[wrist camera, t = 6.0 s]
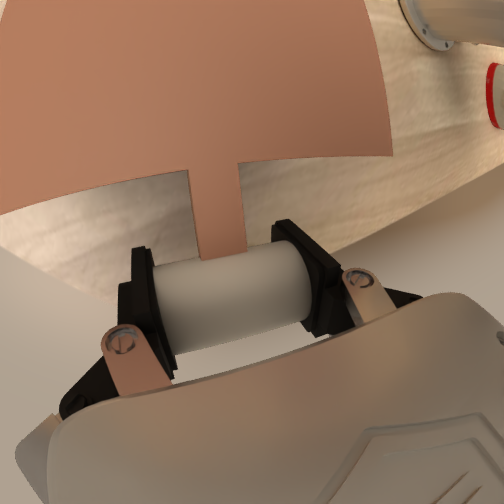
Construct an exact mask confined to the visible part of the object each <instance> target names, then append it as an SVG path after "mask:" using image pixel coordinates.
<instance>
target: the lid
mask: <svg viewBox="0 0 504 504" xmlns="http://www.w3.org/2000/svg"><path fill="white" fill-rule="evenodd" d="M338 156H393V149H392V138H391V128H390V119H389V112H388V104H387V98H386V91H385V85H384V80H383V74H382V69H381V64H380V59H379V55H378V50H377V46H376V42H375V38H374V34H373V30H372V27H371V23H370V19H369V16H368V13H367V9H366V6H365V3H364V0H7V2H6V5H5V8H4V12H3V15H2V18H1V22H0V215H2V214H5V213H8V212H11V211H14V210H17V209H20V208H23V207H26V206H30V205H33V204H36V203H39V202H43V201H46V200H50V199H53V198H57V197H60V196H64V195H68V194H72V193H75V192H79V191H83V190H87V189H91V188H96V187H100V186H104V185H109V184H113V183H118V182H123V181H127V180H132V179H137V178H143V177H148V176H153V175H159V174H165V173H171V172H177V171H183V170H187V176H188V184H189V192H190V199H191V206H192V213H193V220H194V227H195V233H196V239H197V246H198V252H199V257H198V258H193V259H188V260H183V261H178V262H173V263H169V264H164V265H159V266H154V267H153V278H154V285H155V290H156V296H157V300H158V305H159V309H160V314H161V318H162V322H163V325H164V329H165V332H166V336H167V339H168V342H169V345H170V348H171V351H172V353H173V355H178V354H182V353H186V352H191V351H195V350H199V349H203V348H207V347H212V346H215V345H219V344H223V343H227V342H231V341H234V340H238V339H242V338H246V337H249V336H253V335H256V334H259V333H263V332H267V331H270V330H273V329H277V328H280V327H283V326H286V325H289V324H292V323H296V322H299V321H302V320H305V319H306V318H307V317H308V315H309V313H310V310H311V304H312V291H311V284H310V278H309V275H308V271H307V268H306V265H305V263H304V261H303V259H302V256H301V255H300V253H299V251H298V250H297V249H296V247H295V246H294V245H293V244H292V243H291V242H289V241H287V240H282V241H277V242H272V243H267V244H262V245H257V246H252V247H247V242H246V233H245V224H244V215H243V206H242V197H241V189H240V180H239V171H238V163H245V162H255V161H266V160H279V159H293V158H311V157H338Z"/></svg>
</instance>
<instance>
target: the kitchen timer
mask: <svg viewBox="0 0 504 504" xmlns="http://www.w3.org/2000/svg"><path fill="white" fill-rule="evenodd" d="M486 101H487V108H488V114H489V117H490V120H491V122H492V124H493V125H494V126H495V127H497V128H500V129H503V130H504V65H502V64H498V63H492V64H490V66H489V68H488V72H487V77H486Z"/></svg>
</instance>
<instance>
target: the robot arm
mask: <svg viewBox="0 0 504 504" xmlns="http://www.w3.org/2000/svg"><path fill="white" fill-rule="evenodd" d="M399 1H400V4H401V7H402V10H403V12H404V14H405V17H406V19H407V21H408V22H409V24H410V26H411V28H412V29H413V30H414V32H415V33H416V35H417V36H418V37H419V38H420V39H421V41H423V42H424V43H425V44H426V45H427V46H428V47H430V48H431V49H434V50H438V51H447V50H449V49H450V48H451V47H452V46H453V44H454V42H455V41H460V42H470V43H472V44H473V45H478V44H486V45H492V46H498V47H504V0H399ZM282 240H287V241H289V242H291V243H292V244H293V245H294V246H295V247H296V249H297V250H298V251H299V253H300V255H301V256H302V259H303V261H304V263H305V265H306V268H307V271H308V275H309V278H310V284H311V291H312V304H311V310H310V313H309V315H308V317H307V318H306V319H305V320H302V321H300V322H301V324H302V325H303V327H304V328H305V329H306V331H307V332H311V333H312V334H313V335H314V337H315V338H317V337H320V336H322V335H325V334H329V338H326V339H324V340H321V341H318V342H316V343H313V344H310V345H307V346H305V347H302V348H299V349H296V350H293V351H290V352H288V353H284V354H281V355H278V356H275V357H272V358H269V359H266V360H263V361H260V362H257V363H253V364H250V365H246V366H243V367H240V368H236V369H233V370H229V371H226V372H222V373H219V374H214V375H211V376H207V377H203V378H199V379H195V380H191V381H186V382H182V383H178V384H174V385H173V384H172V383H171V380H172V379H174V374H173V370H177V369H178V368H177V363H176V359H175V355H173V353H172V351H171V348H170V345H169V342H168V339H167V336H166V332H165V329H164V325H163V322H162V318H161V314H160V309H159V305H158V300H157V296H156V290H155V285H154V278H153V267H154V266H155V265H154V261H153V257H152V252H151V249H150V248H149V249H146V248H145V246H141V247H137V248H132V254H131V281H129V282H125V283H120V284H119V287H118V322H117V323H118V324H117V326H115V327H113V328H111V329H110V330H109V331H108V332H106V333H105V335H104V336H103V338H102V341H101V349H102V352H103V356H102V357H101V358H100V359H99V360H98V361H97V362H96V363H95V364H94V365H93V366H92V367H91V368H90V370H88V371H87V372H86V374H85V375H84V376H83V377H82V378H81V379H80V380H79V381H78V382H77V383H76V384H75V385H74V386H73V387H72V388H71V389H70V390H69V391H68V392H67V393H66V394H65V395H64V397H63V398H62V400H61V402H60V405H59V413H58V414H57V415H54V414H51V415H50V416H49V417H48V418H46V419H45V420H44V421H43V422H42V423H41V424H40V425H39V426H38V427H36V429H34V430H33V431H32V432H31V433H30V434H28V435H27V436H26V437H25V438H24V439H23V440H22V441H21V442H20V443H19V444H18V445H17V447H16V451H15V459H16V462H17V464H18V466H19V468H20V469H21V471H22V473H23V474H24V476H25V477H26V479H27V481H28V482H29V483H30V485H31V487H32V488H33V489H34V491H35V492H36V494H37V495H38V497H39V498H40V499H41V501H42V502H43V503H44V504H504V326H503V325H501V323H499V322H498V321H497V320H496V319H495V318H494V317H493V316H492V315H491V314H490V313H488V312H487V311H486V310H485V309H484V308H482V307H481V306H480V305H479V304H478V303H476V302H475V301H474V300H472V299H471V298H469V297H468V296H466V295H464V294H461V293H453V292H450V293H439V294H434V295H430V296H427V297H425V298H423V297H422V296H419V295H416V294H411V293H406V292H402V291H398V290H393V289H389V288H384V287H383V286H382V285H381V283H380V282H379V280H378V279H377V277H376V276H375V275H374V274H373V273H371V272H370V271H368V270H365V269H361V268H351V269H348V270H346V271H343V270H342V269H341V265H340V264H339V263H338V262H337V261H336V260H335V259H334V258H333V257H331V256H330V255H329V254H328V253H327V252H326V251H325V250H324V249H323V248H322V247H321V246H319V245H318V244H317V243H316V242H315V241H314V240H313V239H312V238H310V237H309V236H308V235H307V234H306V233H305V232H304V231H302V230H301V229H300V228H299V227H298V226H297V225H296V224H294V223H293V222H292V221H291V220H290V219H285V220H279V221H276V222H275V225H272V228H271V243H272V242H277V241H282Z"/></svg>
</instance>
